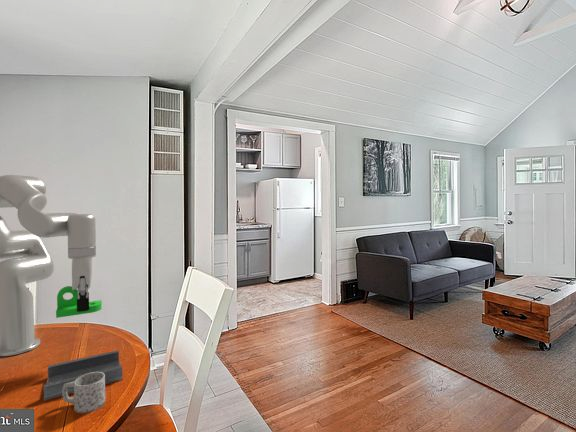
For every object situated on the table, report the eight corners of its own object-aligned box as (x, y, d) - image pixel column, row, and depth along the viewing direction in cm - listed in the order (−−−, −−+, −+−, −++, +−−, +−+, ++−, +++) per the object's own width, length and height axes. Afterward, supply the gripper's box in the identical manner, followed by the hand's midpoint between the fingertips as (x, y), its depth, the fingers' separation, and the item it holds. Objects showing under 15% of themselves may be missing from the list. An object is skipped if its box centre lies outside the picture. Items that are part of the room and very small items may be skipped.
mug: (110, 396, 83) (110, 371, 83) (96, 412, 77) (95, 386, 77) (71, 397, 83) (71, 372, 83) (53, 414, 77) (53, 387, 76)
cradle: (48, 377, 93) (48, 365, 92) (118, 360, 102) (118, 350, 102) (43, 400, 82) (43, 387, 81) (122, 379, 91) (122, 367, 91)
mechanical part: (56, 317, 97) (55, 291, 96) (58, 312, 102) (57, 287, 101) (101, 311, 103) (101, 286, 102) (101, 305, 108) (101, 282, 108)
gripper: (69, 249, 107) (70, 302, 108) (66, 257, 93) (67, 318, 93) (95, 248, 111) (95, 299, 112) (96, 255, 97) (97, 313, 97)
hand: (83, 307), depth 103 cm, fingers closed on mechanical part, 6 cm apart
